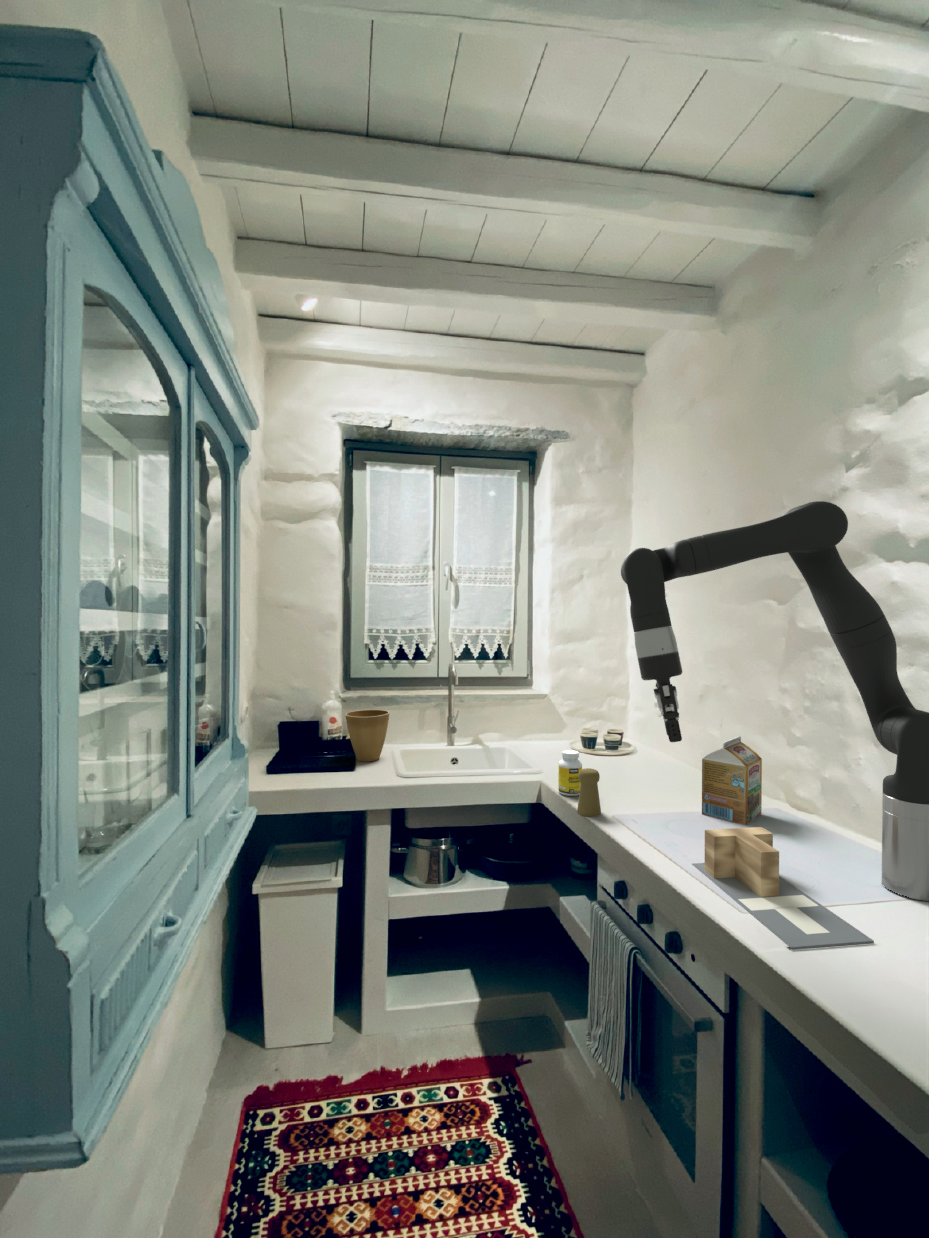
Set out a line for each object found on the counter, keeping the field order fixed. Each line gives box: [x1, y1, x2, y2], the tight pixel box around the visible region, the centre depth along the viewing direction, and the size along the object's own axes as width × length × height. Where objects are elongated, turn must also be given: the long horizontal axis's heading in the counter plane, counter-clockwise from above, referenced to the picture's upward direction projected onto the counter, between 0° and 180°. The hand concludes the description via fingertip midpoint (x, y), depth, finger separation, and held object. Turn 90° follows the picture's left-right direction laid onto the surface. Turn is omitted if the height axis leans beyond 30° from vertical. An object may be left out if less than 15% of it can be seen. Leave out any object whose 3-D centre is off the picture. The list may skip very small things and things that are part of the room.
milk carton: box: [701, 735, 763, 826], centre depth 151 cm, size 11×10×19 cm
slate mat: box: [691, 862, 875, 951], centre depth 107 cm, size 14×30×1 cm, turn 7°
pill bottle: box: [558, 749, 583, 797], centre depth 168 cm, size 6×6×12 cm
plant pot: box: [345, 709, 390, 763], centre depth 206 cm, size 15×15×16 cm
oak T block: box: [704, 826, 780, 897], centre depth 113 cm, size 12×12×8 cm
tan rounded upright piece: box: [576, 767, 602, 818], centre depth 152 cm, size 6×6×11 cm
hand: (674, 738), depth 112 cm, fingers open, 8 cm apart
